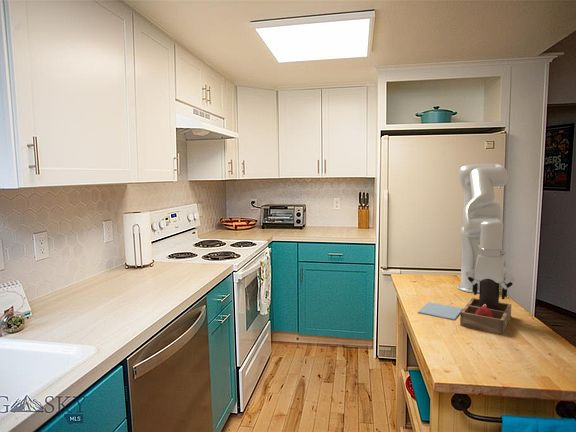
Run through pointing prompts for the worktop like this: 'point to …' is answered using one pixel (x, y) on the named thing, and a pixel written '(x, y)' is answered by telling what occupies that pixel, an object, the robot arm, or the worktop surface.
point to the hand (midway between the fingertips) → (489, 296)
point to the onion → (484, 311)
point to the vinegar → (489, 294)
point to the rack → (484, 322)
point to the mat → (441, 310)
